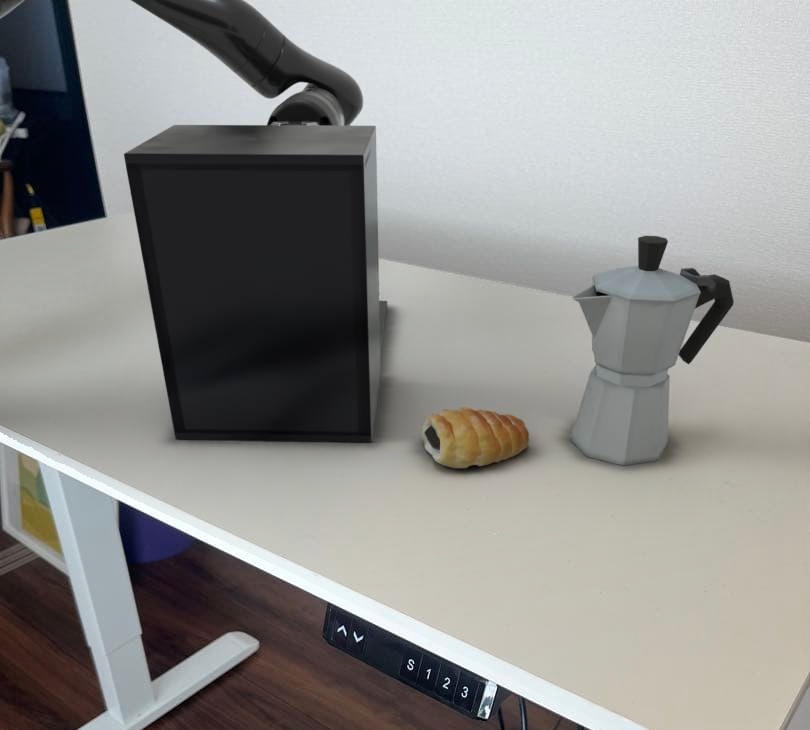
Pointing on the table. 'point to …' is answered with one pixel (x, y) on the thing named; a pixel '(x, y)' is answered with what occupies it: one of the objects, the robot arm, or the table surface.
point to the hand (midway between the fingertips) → (282, 158)
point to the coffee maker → (640, 351)
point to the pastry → (473, 437)
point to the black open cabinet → (263, 278)
